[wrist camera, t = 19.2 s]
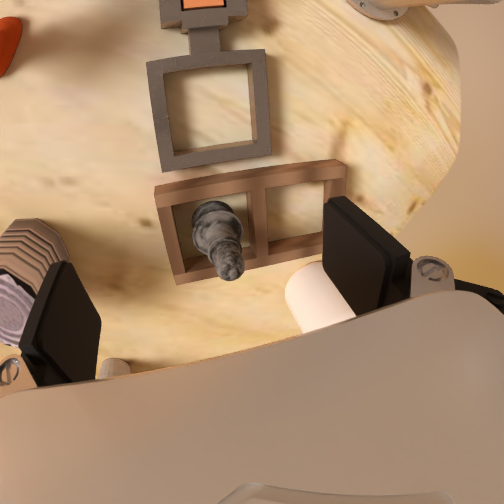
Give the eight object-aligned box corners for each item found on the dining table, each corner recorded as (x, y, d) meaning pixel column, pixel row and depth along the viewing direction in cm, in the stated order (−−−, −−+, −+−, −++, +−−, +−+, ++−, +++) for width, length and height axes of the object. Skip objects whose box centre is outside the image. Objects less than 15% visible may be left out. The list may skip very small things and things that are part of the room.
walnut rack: (334, 159, 37) (346, 165, 34) (330, 238, 43) (340, 249, 41) (154, 186, 33) (154, 195, 30) (174, 271, 39) (176, 285, 37)
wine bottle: (278, 270, 44) (387, 460, 19) (336, 250, 45) (465, 409, 20) (286, 314, 49) (371, 478, 25) (337, 295, 50) (437, 439, 26)
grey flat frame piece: (252, -33, 21) (260, -42, 19) (265, 150, 34) (274, 156, 32) (140, -25, 19) (139, -34, 17) (162, 167, 32) (162, 175, 29)
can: (77, 290, 36) (61, 356, 27) (11, 289, 33) (-16, 349, 23) (64, 214, 31) (31, 271, 21) (-8, 217, 27) (-52, 270, 18)
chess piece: (181, 232, 37) (192, 295, 27) (202, 191, 35) (221, 242, 25) (223, 247, 39) (247, 309, 30) (245, 209, 37) (278, 262, 28)
